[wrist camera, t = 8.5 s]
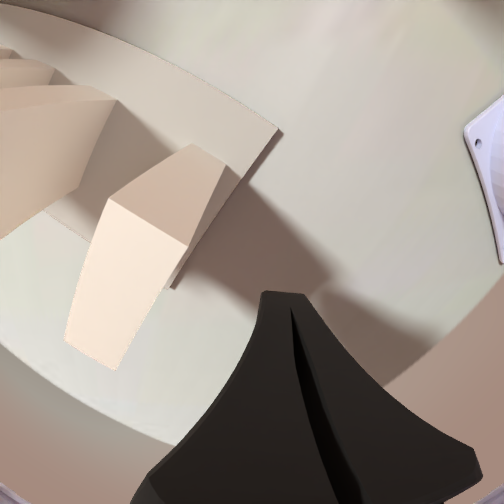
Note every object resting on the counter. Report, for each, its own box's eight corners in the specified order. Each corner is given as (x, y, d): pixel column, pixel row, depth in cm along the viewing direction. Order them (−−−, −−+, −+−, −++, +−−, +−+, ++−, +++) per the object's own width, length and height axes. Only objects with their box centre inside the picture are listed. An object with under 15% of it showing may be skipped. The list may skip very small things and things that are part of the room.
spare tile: (226, 164, 11) (188, 246, 5) (172, 247, 13) (115, 371, 6) (191, 142, 10) (108, 198, 4) (142, 229, 12) (63, 340, 6)
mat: (277, 127, 10) (278, 128, 10) (169, 286, 14) (167, 290, 14) (-20, -1, 5) (-23, -1, 4) (-62, 119, 8) (-65, 120, 8)
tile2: (117, 99, 9) (-15, 115, 3) (78, 187, 11) (-30, 265, 5) (90, 85, 9) (-42, 95, 3) (54, 172, 11) (-56, 237, 5)
